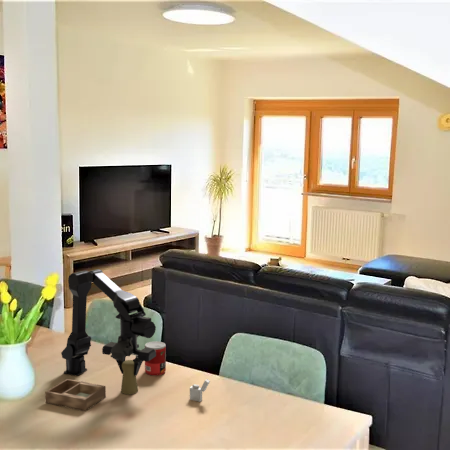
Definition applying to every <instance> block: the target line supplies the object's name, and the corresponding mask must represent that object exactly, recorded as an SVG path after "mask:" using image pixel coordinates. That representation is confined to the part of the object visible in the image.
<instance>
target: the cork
mask: <svg viewBox="0 0 450 450" xmlns="http://www.w3.org/2000/svg"><path fill="white" fill-rule="evenodd" d="M122 370H123V374H122V379H121V388H120V389H121V390H120V393H122V394H124V395H134V394H137V393H138V391H139V388H138V382H137V381H138V380H137V376H134V362H133V359H125V361H124V362H123V363H122Z"/></svg>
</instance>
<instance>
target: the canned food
mask: <svg viewBox="0 0 450 450" xmlns="http://www.w3.org/2000/svg"><path fill="white" fill-rule="evenodd" d="M166 347H167V346H166V343H165V342H162V341H156V340H155V341H148V342H146V343H145V344H144V348H152V349H155V351H156V357H154V358H153V359H151V360H150V361H144V372H145V374H146V375H149V376H155V377H157V376H161V375H164V374H165V373H166V370H167V367H166V365H167V362H166V361H167V359H166V357H167V354H166V353H167V351H166V349H167V348H166Z"/></svg>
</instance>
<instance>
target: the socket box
mask: <svg viewBox="0 0 450 450" xmlns="http://www.w3.org/2000/svg"><path fill="white" fill-rule="evenodd" d="M106 388H107V387H106V385H102V384H96V383H90V382H86V381H83V380H82V381H81V380H77V379H76V380H74V379H71V378H65V379H64V380H62V381H60V382H59V383H57V384H56V385H54V386H52V387H51V388H49V389H47V390H46V391H44V392H45V394H44V395H45V403H46V404H48V405H53V406H59V407H61V408H62V407H63V408H68V409H72V410H78V411H82V412H87V411H88V410H89V409H91V408H92V407H94V406H95V405H96V404H98V403H99V402H101V401H102V400H104V399H105V398H107V397H106V394H107V393H106V392H107V390H106Z"/></svg>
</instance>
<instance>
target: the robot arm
mask: <svg viewBox="0 0 450 450" xmlns="http://www.w3.org/2000/svg"><path fill="white" fill-rule="evenodd" d="M67 281H68V283H67V284H68V289H69V291H70V292H71V294H72V316H71V317H72V319H71V320H72V321H71V332H70V334H69V336H68V337H67V339H66V346H65V347H64V348H63V349H62V351H61V358H62V359H64V360H65V368H66V370H64V371H63V374H66V375H70V376H71V375H72V376H77V377H78V376H80V375H81V374H83V373H85V372H86V371H88V368H87V367H86V359H85V356H87V355H88V354H89V350H90V347H91V346H92V344H91V343H92V342H91V341H92V337H91V336H90V335H88V333H87V332H86V331H87V329H86V328H87V325H86V323H87V322H86V321H87V301H88V300H87V298H88V295H89V292H90V291H91V288H92V284H94V285H95V286H96V287H97V288H98V289H99V290H100V291H101V292H103V294H105V295H106V296H107V297H108V298H109V299H110V300H111V301H112V304H113V307H114V309H115V310H116V311H117V312H118V314H117V315H115V318H116V319H118V320H119V327H120V328H119V329H120V331H119V333H120V335H119V336H118V338H117V342H114V341H110V342H108V343H106V344H104V345H103V346H102V348H101V350H102V351H101V352H102V354H103V355H106V356H110V358H112V359H113V360H115V361H116V363H117V366H118V368H119V371H120V373H121V374H122V375H123V370H122V363H123V362H124V361H126V357H131V355H132V356H133V355H134V356H135V357H134V358H133V359H132V360H133V362H134V376H136V377H137V375H138V374H139V371H140V369H141V367H142V364H143V362H145V361H150V360H151V359H153V358H154V357H156V351H155V349H152V348H145V347H144V348H142V349H138V348H139V347H140V344H139V343H138V337H142V338H145V339H146V338H147V339H151V338H153V336H154V334H156V331H157V330H156V328H157V327H156V324H155V323H154V321H152V317H146V315H147V314H146V312H145V309H144V308H143V306H142V304H141V302H140V299H139V298H138V297H137V296H136V295H134V294H132V293H131V292H128V291H125V290H123V289H121V288H120V286H118V285H117V284H116V283H115V282H113V281H112V280H111V279H110V278H109V277H108V276H107V275H106V274H105V273H104V272H103V270H102V269H98V268H96V269H92V270H89V271H88V270H82V271H77V272H72V273H70V274H69V275H68V280H67Z"/></svg>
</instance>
